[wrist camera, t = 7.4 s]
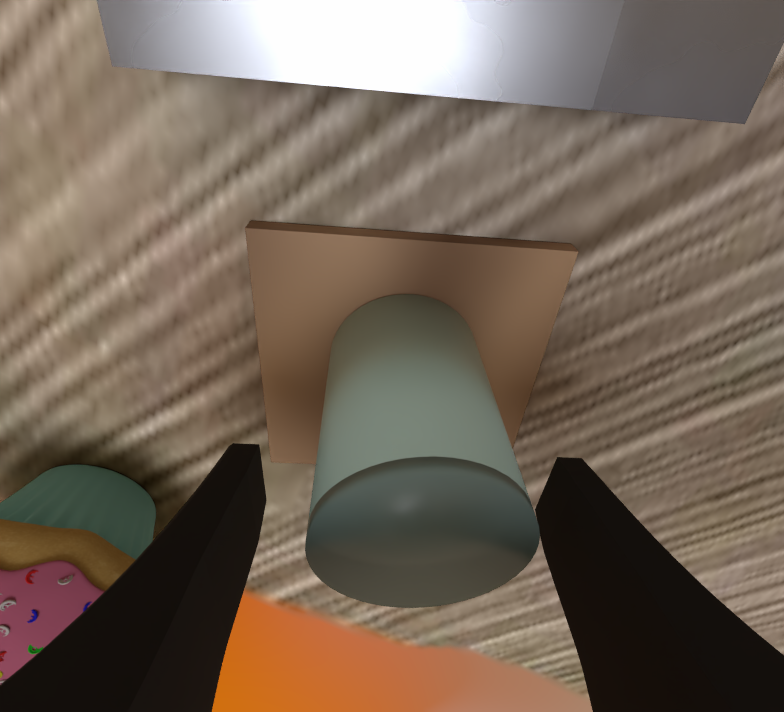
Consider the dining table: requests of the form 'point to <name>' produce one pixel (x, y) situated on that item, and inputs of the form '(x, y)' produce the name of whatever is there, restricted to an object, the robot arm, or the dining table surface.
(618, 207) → the dining table surface
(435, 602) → the cylinder
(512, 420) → the coaster
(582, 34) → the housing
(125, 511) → the cupcake
